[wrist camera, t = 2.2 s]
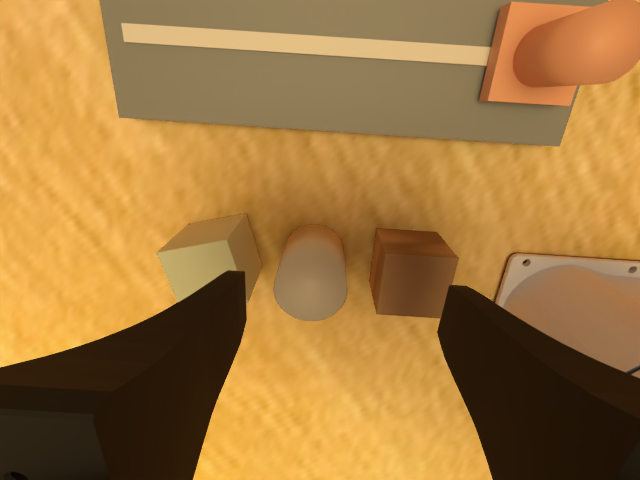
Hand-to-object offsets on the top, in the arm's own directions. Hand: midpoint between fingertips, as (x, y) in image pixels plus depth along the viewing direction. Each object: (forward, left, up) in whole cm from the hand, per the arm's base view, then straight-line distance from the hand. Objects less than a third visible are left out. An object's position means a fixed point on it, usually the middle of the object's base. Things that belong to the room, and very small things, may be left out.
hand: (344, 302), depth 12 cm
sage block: (+7, +3, -11) cm, 13 cm away
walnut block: (-5, +3, -11) cm, 12 cm away
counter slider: (-9, -9, -9) cm, 15 cm away
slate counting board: (0, -9, -10) cm, 14 cm away
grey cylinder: (+1, +3, -10) cm, 11 cm away
